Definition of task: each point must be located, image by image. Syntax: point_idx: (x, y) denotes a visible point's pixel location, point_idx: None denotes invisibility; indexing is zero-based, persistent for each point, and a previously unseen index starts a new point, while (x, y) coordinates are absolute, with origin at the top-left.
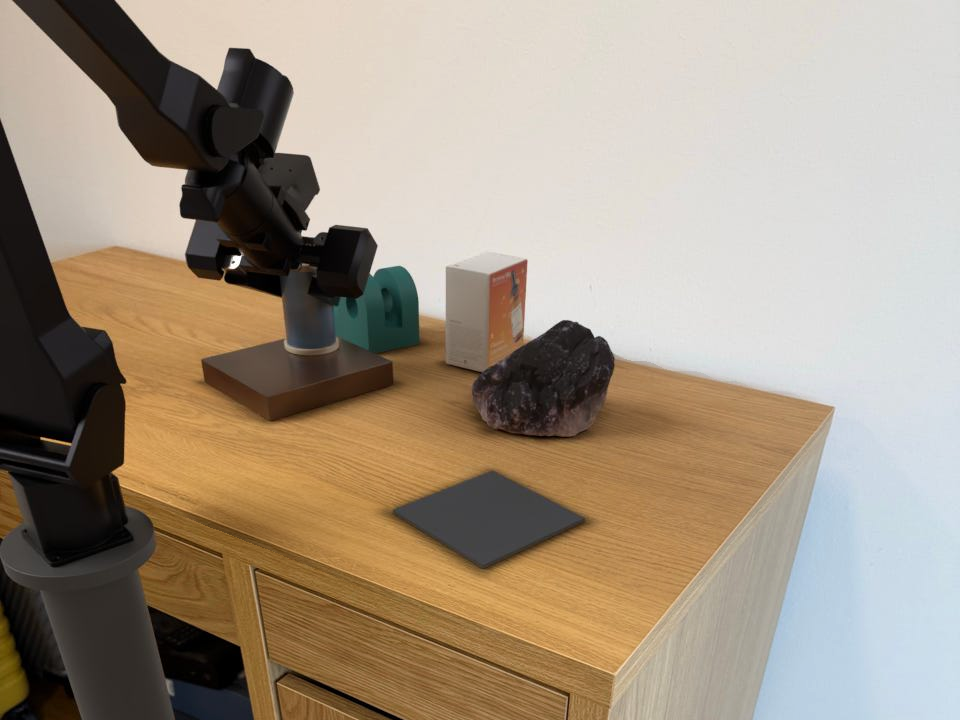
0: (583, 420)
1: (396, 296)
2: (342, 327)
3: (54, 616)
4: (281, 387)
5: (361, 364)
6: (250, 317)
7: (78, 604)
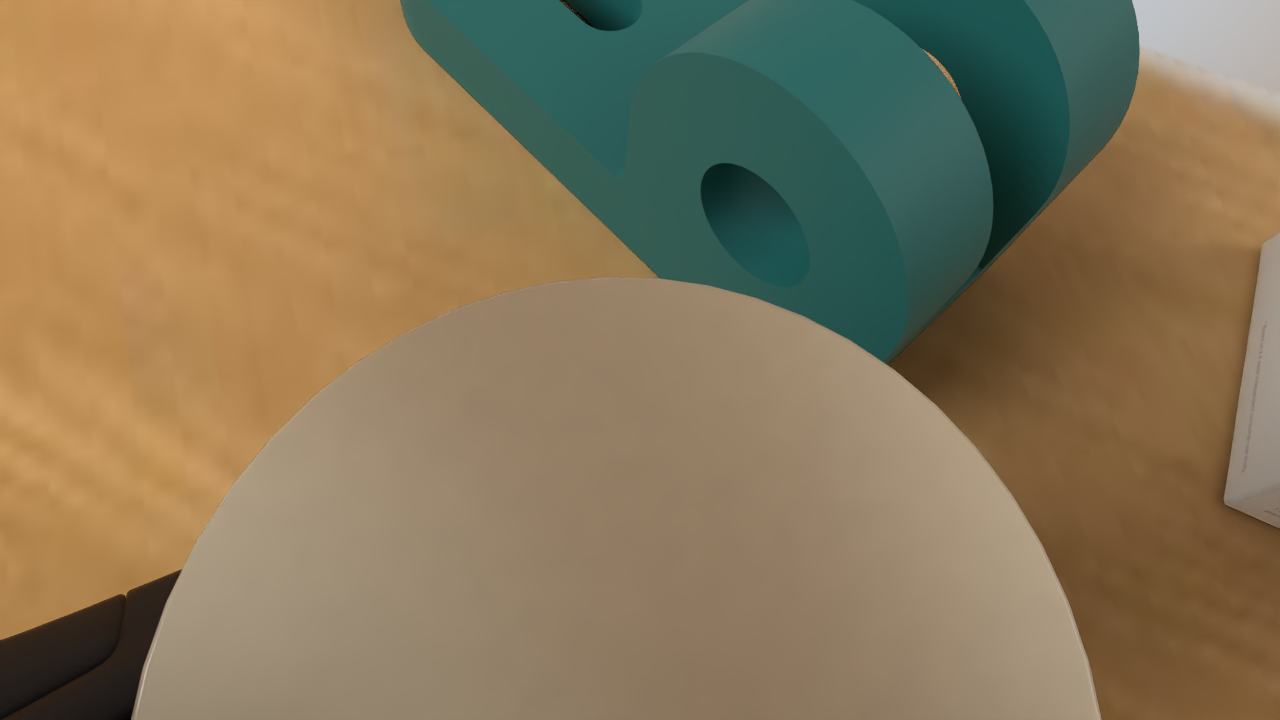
0: None
1: (1019, 144)
2: (643, 226)
3: None
4: None
5: None
6: (145, 50)
7: None
